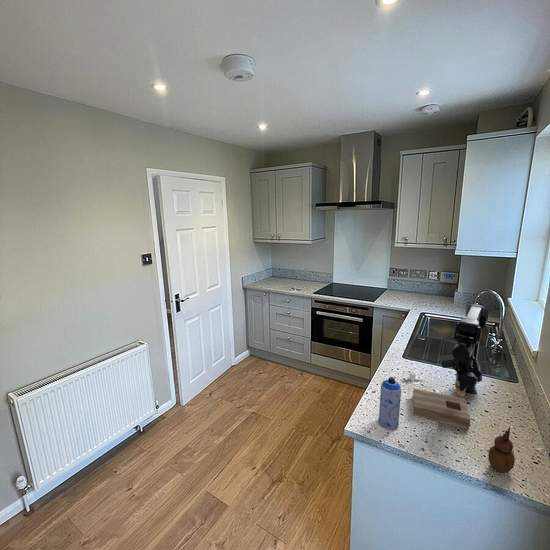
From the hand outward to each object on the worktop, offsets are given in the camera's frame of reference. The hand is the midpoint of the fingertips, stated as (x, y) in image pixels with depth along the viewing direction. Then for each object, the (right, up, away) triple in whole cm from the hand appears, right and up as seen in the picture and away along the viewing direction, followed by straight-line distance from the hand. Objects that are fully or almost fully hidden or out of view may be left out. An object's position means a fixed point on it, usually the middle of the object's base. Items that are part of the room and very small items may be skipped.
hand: (460, 387), depth 120 cm
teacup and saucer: (-4, -9, +27) cm, 29 cm away
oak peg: (0, -3, +1) cm, 3 cm away
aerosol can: (-30, -14, -1) cm, 33 cm away
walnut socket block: (-6, -12, +5) cm, 15 cm away
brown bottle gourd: (-1, -18, -22) cm, 29 cm away
